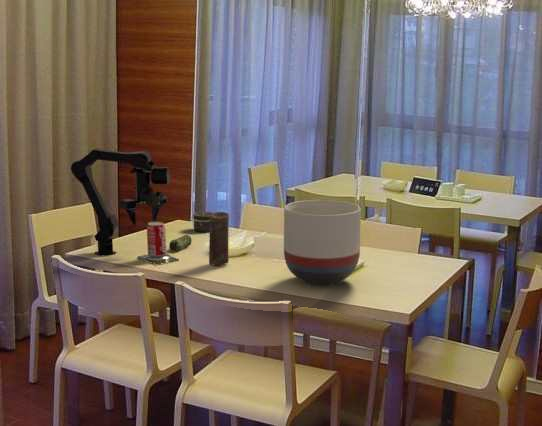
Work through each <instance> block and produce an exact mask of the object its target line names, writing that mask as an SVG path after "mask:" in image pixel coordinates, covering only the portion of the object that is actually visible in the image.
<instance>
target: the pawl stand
mask: <svg viewBox="0 0 542 426" xmlns="http://www.w3.org/2000/svg"><path fill="white" fill-rule="evenodd" d="M136 257H138V258H137V259H139V258H140V259H139V260H142V259H143V260H142V261H144V260H146V261H145V262H147V261H149V262H148V263H150V262H152V263H155V264H161V263H166V262H170V263H174V261H175V262H179V261H180V259H179V258H176V257H174V256H171V255H170V254H169V253H166V254H165V256H163V257H158V258H154V257H150V256H149V255H148V253H147V254H143V255H142V254H141V255H137V256H136ZM152 263H151V264H152ZM155 264H154V265H155ZM166 264H167V263H166ZM161 265H162V264H161Z"/></svg>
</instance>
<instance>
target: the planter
mask: <svg viewBox="0 0 542 426" xmlns="http://www.w3.org/2000/svg"><path fill="white" fill-rule="evenodd" d="M361 209H362V208H361V207H360V206H359V205H358V204H356V203H352V202H348V201H341V200H330V199H329V200H328V199H308V200H300V201H299V200H298V201H294V202H290V203H287V204H286V205H284V208H283V256H284V260H285V264H286V267H287V268H288V270H289V271H290V272H291V274H292V275H293V276H295V277H296V278H297V279H299V280H300V281H301V282H304V283H307V284H310V285H317V286H327V285H334V284H338V283H339V282H340V283H341V282H342V281H345V280H346V279H347V278H348V277H349V276H351V275H352V274H353V272H355V270H356V268H357V266H358V264H359V259H360V255H361V254H360V253H361V225H362V224H361V223H362V221H361V220H362V219H361V218H362V217H361V216H362V210H361Z"/></svg>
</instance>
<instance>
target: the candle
mask: <svg viewBox="0 0 542 426" xmlns="http://www.w3.org/2000/svg"><path fill="white" fill-rule="evenodd" d="M229 218H230V215H229V213H228V212H224V211H216V212H212V214H211V215H210V232H209V243H208V244H209V247H208V248H209V249H208V251H209V252H208V254H209V255H208V264H209V265H212V266H216V267H220V266H223V265H226V264H228V263H229V233H230V232H229V224H230V223H229V222H230V221H229V220H230V219H229Z"/></svg>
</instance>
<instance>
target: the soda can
mask: <svg viewBox="0 0 542 426" xmlns="http://www.w3.org/2000/svg"><path fill="white" fill-rule="evenodd" d="M166 237H167V236H166V226H165V223H164V222H162V221H155V222H154V221H149V222H148V223H147V227H146V241H147V242H146V243H147V244H146V245H147V254H148V255H149V256H150V257H154V258H158V257H163V256H165V254H167V238H166Z"/></svg>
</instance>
